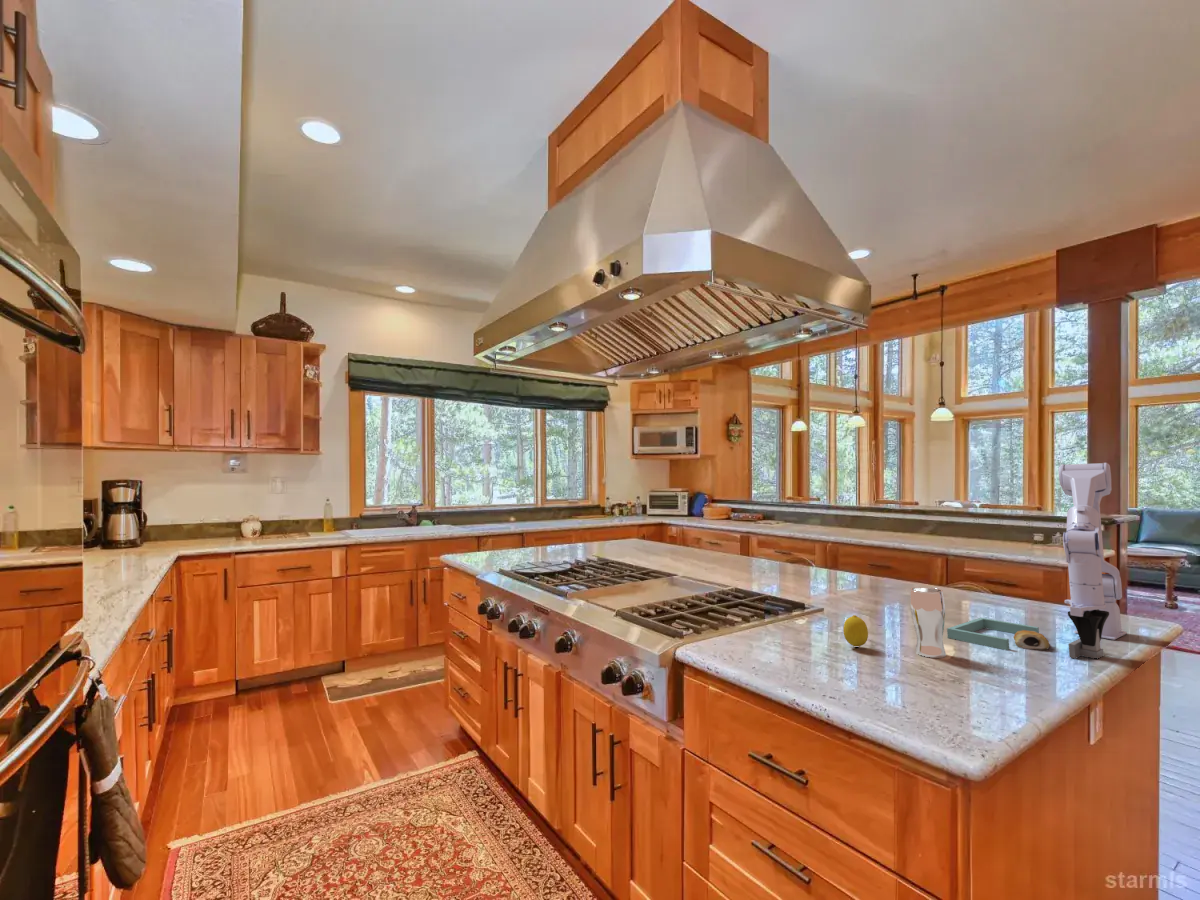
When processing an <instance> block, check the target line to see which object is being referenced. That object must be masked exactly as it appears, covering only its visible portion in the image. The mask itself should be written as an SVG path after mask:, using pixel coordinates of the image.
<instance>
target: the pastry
mask: <svg viewBox="0 0 1200 900" xmlns="http://www.w3.org/2000/svg"><path fill="white" fill-rule="evenodd" d="M1013 640H1014V644H1015V645H1016V647H1018V648H1019V647H1022V648H1021V649H1025V648H1027V649H1028V650H1037V649H1038V650H1041V651H1044V650H1045V651H1046V650H1048V649H1049V648H1050V646H1051V644H1050V642H1049V640H1048V638H1047V637H1045V635H1044V634H1043V633H1040V632H1039V633H1037V632H1035V631H1026V630H1022V631H1017V632H1016V633H1015V634H1014V635H1013ZM1027 649H1026V650H1027ZM1038 650H1037V651H1038Z"/></svg>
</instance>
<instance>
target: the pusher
mask: <svg viewBox="0 0 1200 900" xmlns="http://www.w3.org/2000/svg"><path fill="white" fill-rule="evenodd" d="M1068 653H1069V658H1070V657H1071V658H1072V659H1078V658H1079V657H1083V656H1085V658H1088V657H1091V658H1090V659H1094V658H1097V659H1096V660H1099V659H1100V657H1101V658H1103V657H1104V656H1105V655H1104V654H1105V652H1104V648H1102V647H1101V641H1100V637H1099V629H1097V634H1096V643H1095V646H1088V645H1083V644H1082V643H1081V640H1080V638H1078V639H1075V640H1074V641H1072V642H1069V643H1068ZM1103 655H1104V656H1103ZM1102 656H1103V657H1102ZM1098 658H1099V659H1098Z"/></svg>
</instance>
